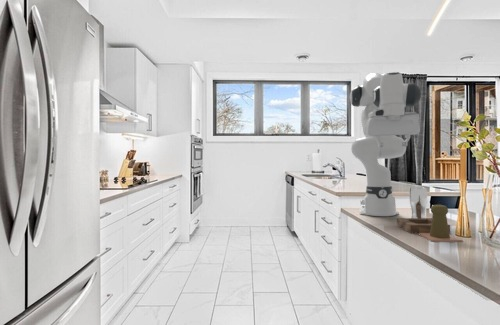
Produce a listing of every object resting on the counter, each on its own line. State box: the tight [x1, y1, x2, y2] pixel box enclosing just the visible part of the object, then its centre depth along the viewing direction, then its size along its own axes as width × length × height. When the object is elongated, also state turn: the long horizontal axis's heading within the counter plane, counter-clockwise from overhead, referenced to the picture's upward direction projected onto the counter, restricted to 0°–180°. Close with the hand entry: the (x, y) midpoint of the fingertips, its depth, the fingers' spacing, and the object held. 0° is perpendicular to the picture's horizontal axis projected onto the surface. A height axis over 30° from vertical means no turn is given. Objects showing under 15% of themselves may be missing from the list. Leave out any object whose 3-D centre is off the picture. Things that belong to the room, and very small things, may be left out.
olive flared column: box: [430, 204, 450, 238], centre depth 112 cm, size 6×6×11 cm
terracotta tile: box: [418, 233, 464, 243], centre depth 112 cm, size 10×10×1 cm
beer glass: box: [408, 186, 428, 218], centre depth 140 cm, size 7×7×15 cm
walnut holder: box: [396, 217, 451, 234], centre depth 125 cm, size 14×14×3 cm
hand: (392, 146), depth 128 cm, fingers open, 8 cm apart
